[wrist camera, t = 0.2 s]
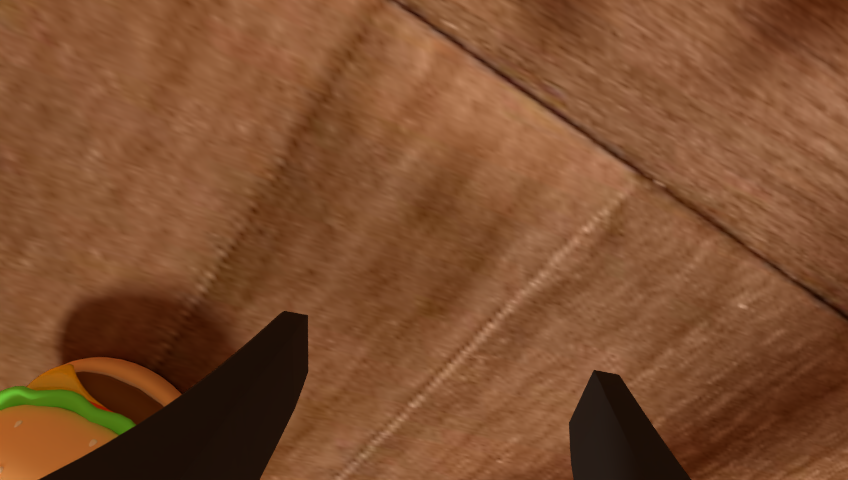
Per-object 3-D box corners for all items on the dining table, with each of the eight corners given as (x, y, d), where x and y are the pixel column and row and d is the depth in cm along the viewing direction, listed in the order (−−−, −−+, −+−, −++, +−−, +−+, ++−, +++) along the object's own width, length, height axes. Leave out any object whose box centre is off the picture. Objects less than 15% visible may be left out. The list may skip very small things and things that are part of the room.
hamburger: (172, 509, 32) (72, 660, 24) (15, 413, 30) (-150, 544, 22) (258, 417, 28) (170, 566, 20) (80, 297, 26) (-96, 410, 18)
